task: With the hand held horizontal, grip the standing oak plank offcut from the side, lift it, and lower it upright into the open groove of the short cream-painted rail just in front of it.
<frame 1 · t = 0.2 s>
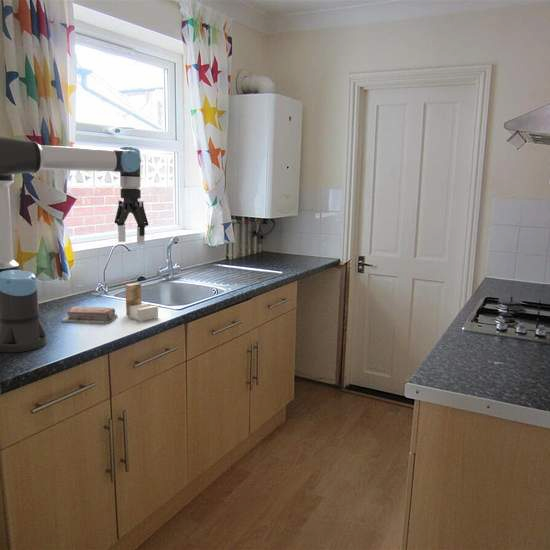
hand: (131, 243, 205), 27 cm above the worktop, tool pointing down, fingers open, 13 cm apart
oak plank: (134, 314, 205), on the worktop
grooved rail: (143, 317, 201), on the worktop
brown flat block: (90, 321, 197), on the worktop
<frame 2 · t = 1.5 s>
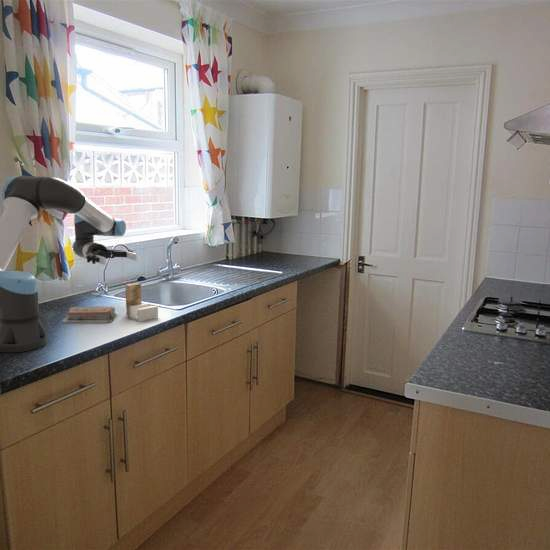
hand: (120, 259, 207), 21 cm above the worktop, tool horizontal, fingers open, 13 cm apart
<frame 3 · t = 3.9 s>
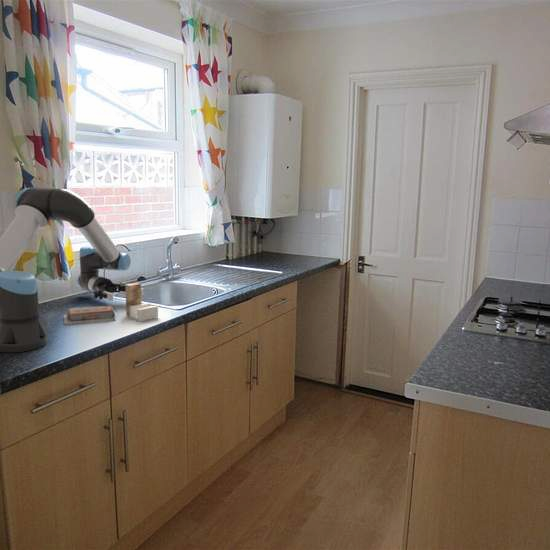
hand: (127, 294, 208), 7 cm above the worktop, tool horizontal, fingers open, 13 cm apart
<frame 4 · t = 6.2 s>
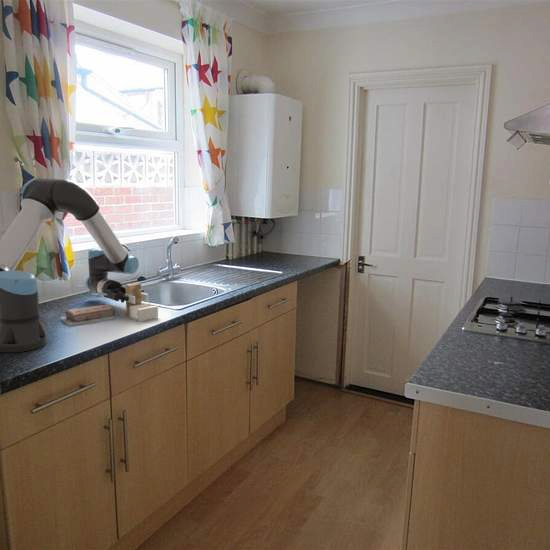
hand: (140, 299, 200), 7 cm above the worktop, tool horizontal, fingers closed on oak plank, 5 cm apart
oak plank: (134, 314, 205), on the worktop, touching gripper
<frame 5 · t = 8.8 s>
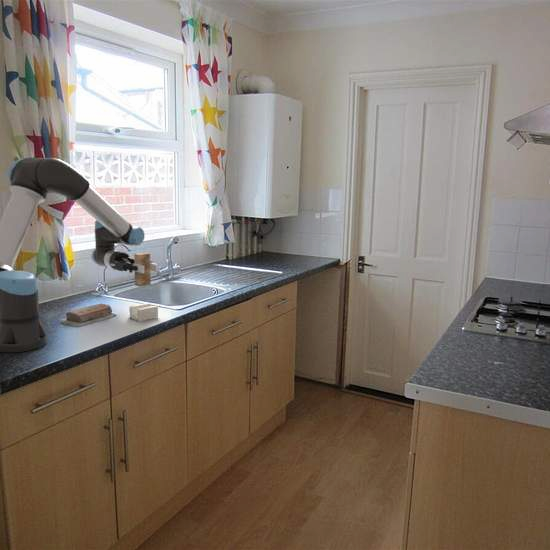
hand: (150, 268, 193), 20 cm above the worktop, tool horizontal, fingers closed on oak plank, 5 cm apart
oak plank: (142, 284, 198), point 13 cm above the worktop, touching gripper
when the fingers open (9 cm above the worktop, at t = 11.4 s): oak plank drops 1 cm, resting on grooved rail.
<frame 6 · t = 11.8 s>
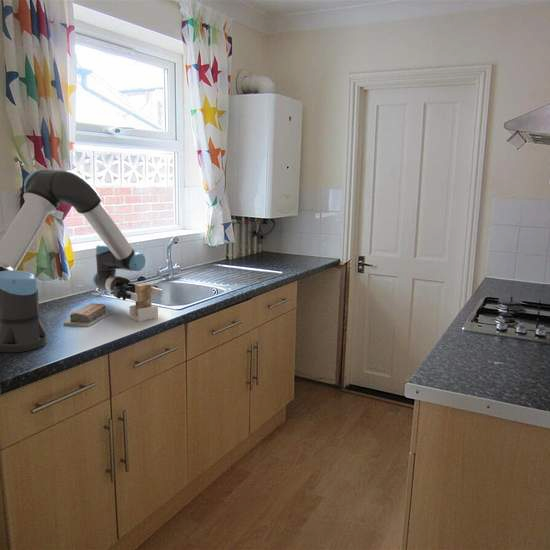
hand: (149, 295, 196), 9 cm above the worktop, tool horizontal, fingers open, 10 cm apart
oak plank: (143, 315, 200), point 1 cm above the worktop, touching grooved rail
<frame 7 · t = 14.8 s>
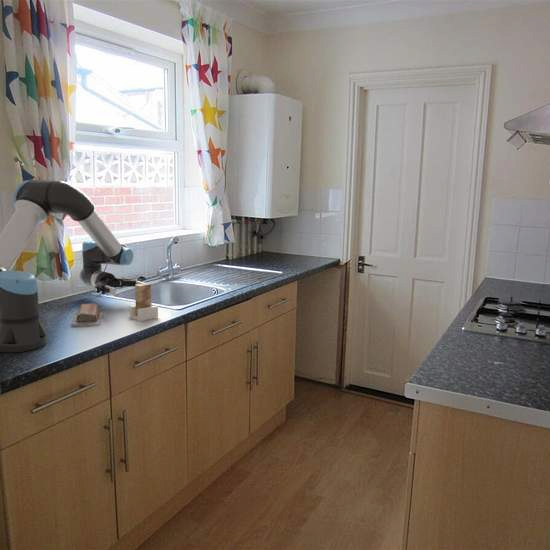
hand: (130, 289, 205), 10 cm above the worktop, tool horizontal, fingers open, 13 cm apart
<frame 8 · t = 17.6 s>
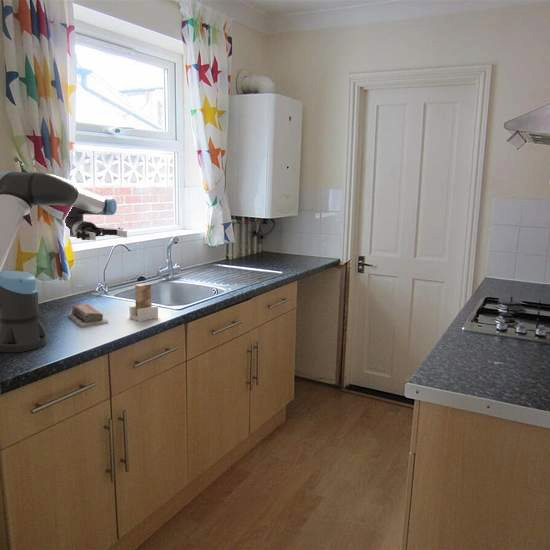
hand: (110, 235, 206), 30 cm above the worktop, tool horizontal, fingers open, 13 cm apart
at the end: oak plank 0.0 cm off-centre on the grooved rail, point 1.0 cm above the grooved rail's base; oak plank tilted 0°; the gripper is holding nothing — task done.
